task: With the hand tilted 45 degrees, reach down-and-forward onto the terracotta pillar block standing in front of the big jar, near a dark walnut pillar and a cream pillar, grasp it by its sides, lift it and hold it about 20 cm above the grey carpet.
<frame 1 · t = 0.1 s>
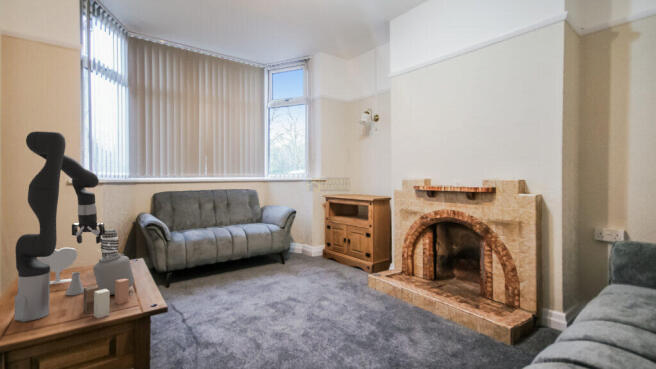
hand: (89, 243, 158), 23 cm above the table, tool pointing down, fingers open, 8 cm apart
terracotta pillar: (121, 301, 140), on the table
decorative candle: (108, 270, 188), on the table
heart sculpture: (57, 282, 164), on the table
flask: (75, 293, 149), on the table
cream pillar: (101, 315, 126), on the table
walnut pillar: (90, 311, 129), on the table
jar: (111, 293, 151), on the table
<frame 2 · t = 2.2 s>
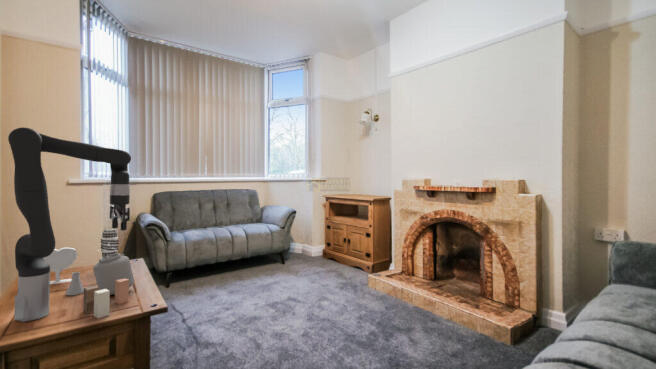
hand: (119, 229, 141), 33 cm above the table, tool pointing down, fingers open, 8 cm apart
nothing on the table moved.
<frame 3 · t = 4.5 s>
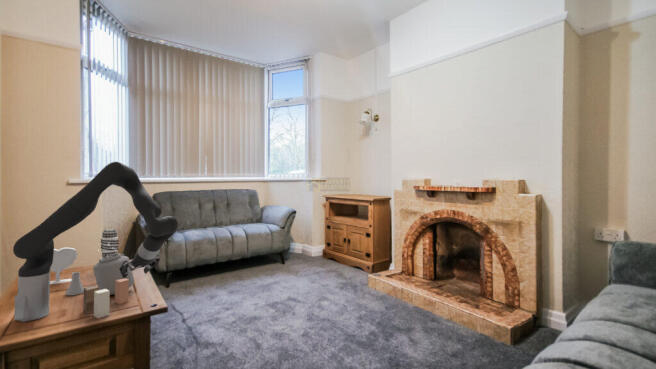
hand: (134, 274, 134), 15 cm above the table, tool tilted 45°, fingers open, 8 cm apart
nothing on the table moved.
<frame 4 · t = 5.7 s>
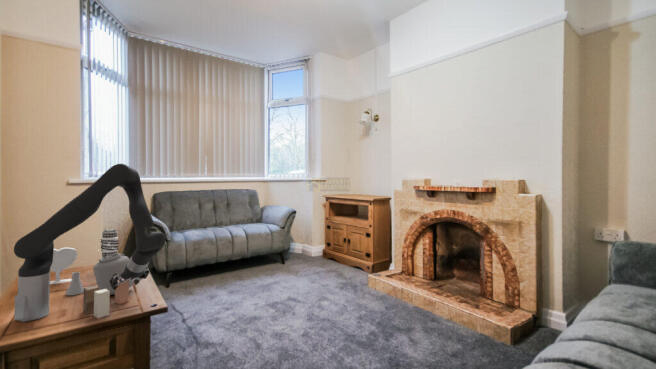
hand: (124, 285, 138), 8 cm above the table, tool tilted 45°, fingers open, 8 cm apart
nothing on the table moved.
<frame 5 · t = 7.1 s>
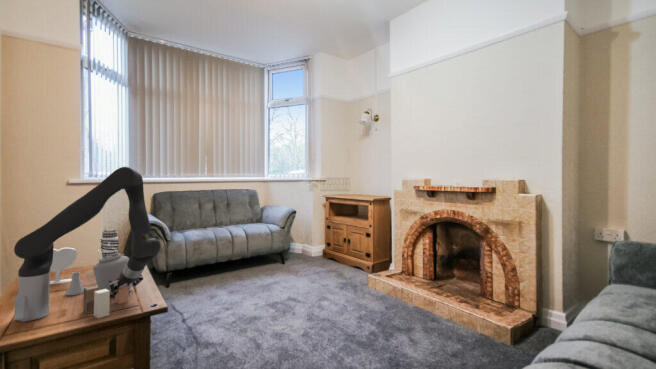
hand: (119, 292, 141), 4 cm above the table, tool tilted 45°, fingers closed on terracotta pillar, 4 cm apart
terracotta pillar: (121, 301, 140), on the table, touching gripper
everything else where it was.
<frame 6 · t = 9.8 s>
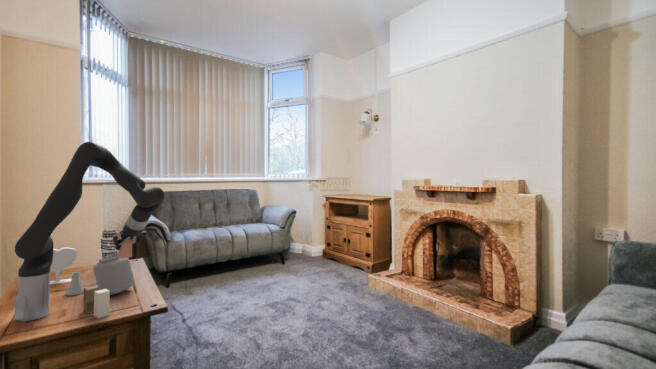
hand: (123, 247, 139), 25 cm above the table, tool tilted 45°, fingers closed on terracotta pillar, 4 cm apart
terracotta pillar: (125, 256, 138), point 21 cm above the table, touching gripper
everything else where it was.
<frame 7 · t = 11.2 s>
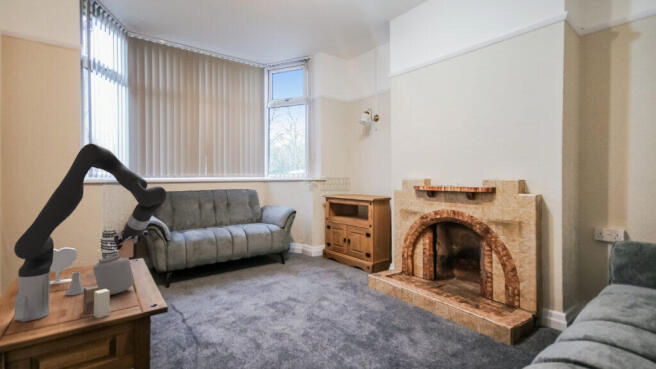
hand: (124, 247, 136), 26 cm above the table, tool tilted 45°, fingers closed on terracotta pillar, 4 cm apart
terracotta pillar: (126, 256, 135), point 22 cm above the table, touching gripper
everything else where it was.
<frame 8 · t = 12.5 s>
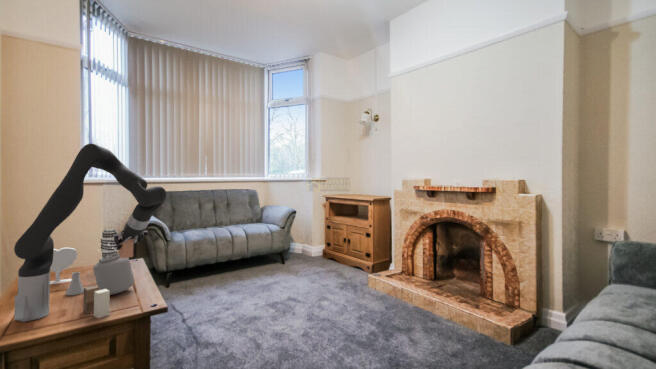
hand: (124, 247, 136), 26 cm above the table, tool tilted 45°, fingers closed on terracotta pillar, 4 cm apart
terracotta pillar: (126, 256, 135), point 22 cm above the table, touching gripper
everything else where it was.
at the end: the gripper is holding terracotta pillar; terracotta pillar point 21.9 cm above the table; walnut pillar moved 0.0 cm from its start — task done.
